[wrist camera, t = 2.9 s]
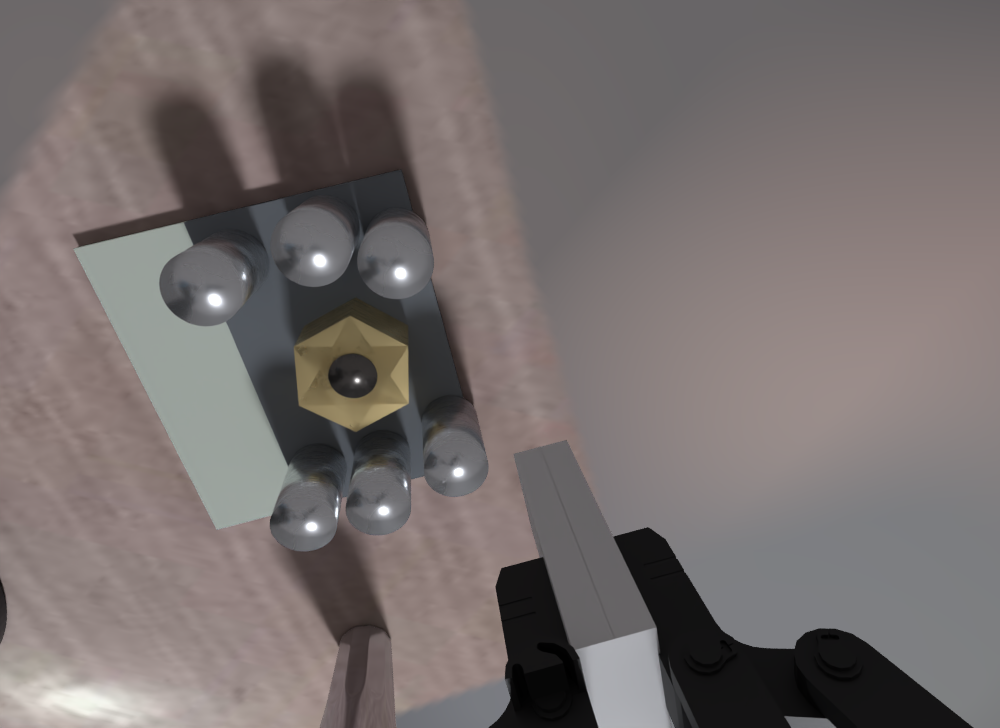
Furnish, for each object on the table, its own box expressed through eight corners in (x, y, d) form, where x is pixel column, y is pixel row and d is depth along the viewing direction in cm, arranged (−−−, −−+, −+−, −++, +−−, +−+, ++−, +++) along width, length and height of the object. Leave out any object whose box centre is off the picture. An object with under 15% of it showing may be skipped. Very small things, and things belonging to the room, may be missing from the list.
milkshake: (303, 652, 38) (269, 823, 29) (366, 604, 37) (352, 764, 28) (354, 687, 39) (338, 859, 30) (416, 642, 39) (417, 804, 30)
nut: (336, 417, 31) (329, 446, 29) (279, 339, 29) (265, 362, 27) (433, 365, 31) (435, 389, 28) (381, 282, 29) (378, 300, 26)
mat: (219, 524, 33) (216, 531, 33) (78, 246, 27) (72, 249, 27) (478, 455, 34) (480, 461, 34) (401, 169, 28) (401, 170, 27)
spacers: (302, 500, 33) (285, 561, 28) (185, 226, 27) (139, 248, 22) (486, 451, 33) (499, 503, 29) (413, 172, 27) (413, 182, 23)
